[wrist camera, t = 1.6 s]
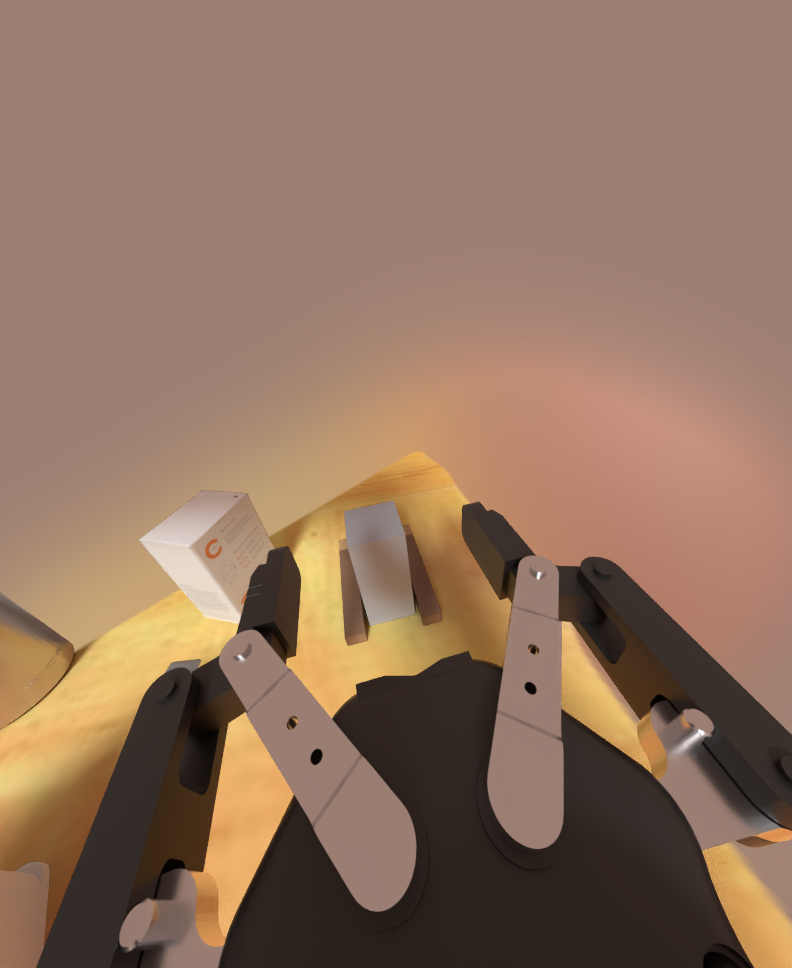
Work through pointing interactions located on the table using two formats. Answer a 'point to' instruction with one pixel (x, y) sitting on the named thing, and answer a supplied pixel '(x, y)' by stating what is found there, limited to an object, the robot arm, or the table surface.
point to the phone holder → (23, 914)
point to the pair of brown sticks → (353, 598)
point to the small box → (212, 550)
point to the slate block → (380, 561)
